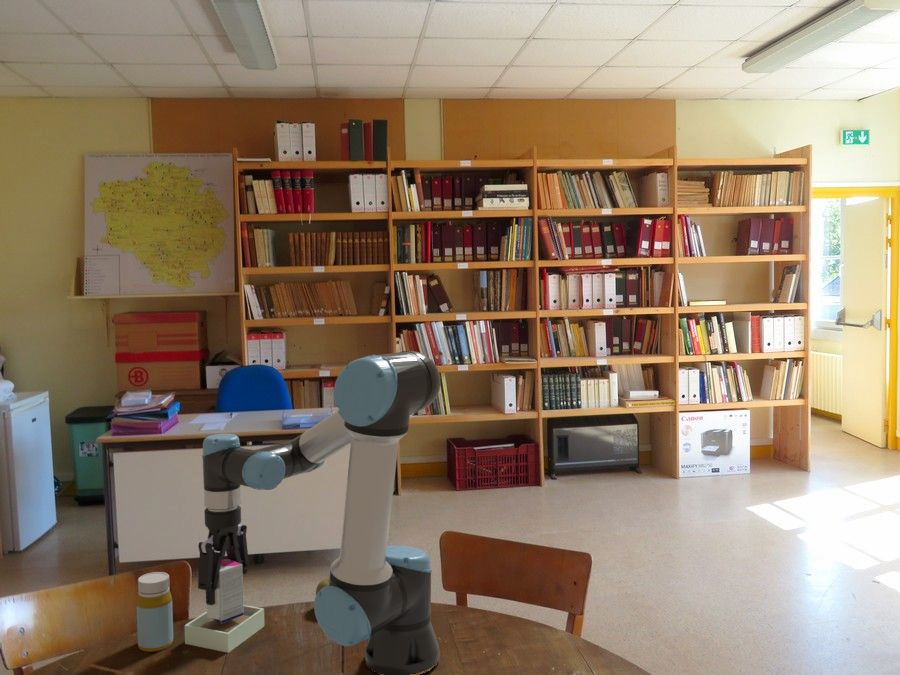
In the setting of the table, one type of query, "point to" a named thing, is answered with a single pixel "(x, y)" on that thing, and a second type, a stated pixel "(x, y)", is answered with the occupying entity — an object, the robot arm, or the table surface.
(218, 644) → the box
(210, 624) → the walnut block
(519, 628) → the table surface
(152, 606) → the bottle
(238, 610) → the supplement box
